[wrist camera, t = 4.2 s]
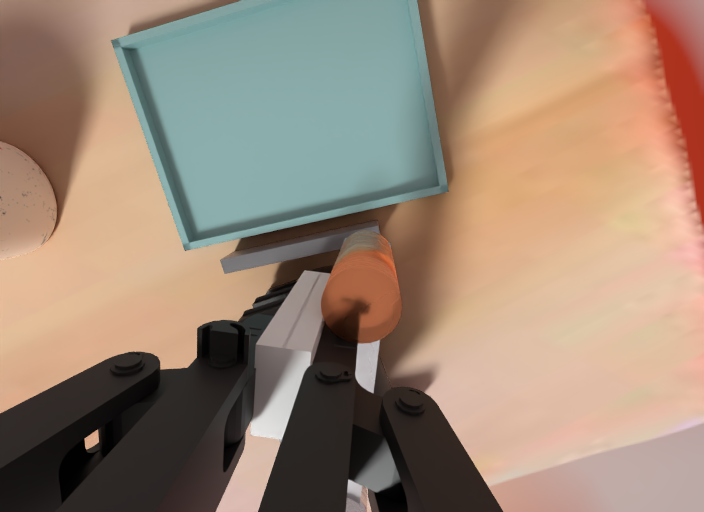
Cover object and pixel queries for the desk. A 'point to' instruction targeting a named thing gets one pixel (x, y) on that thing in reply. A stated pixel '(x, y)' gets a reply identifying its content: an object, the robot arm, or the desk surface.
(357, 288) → the crank handle
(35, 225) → the teacup with lid
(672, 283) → the desk surface
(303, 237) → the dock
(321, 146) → the tray
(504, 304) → the desk surface
